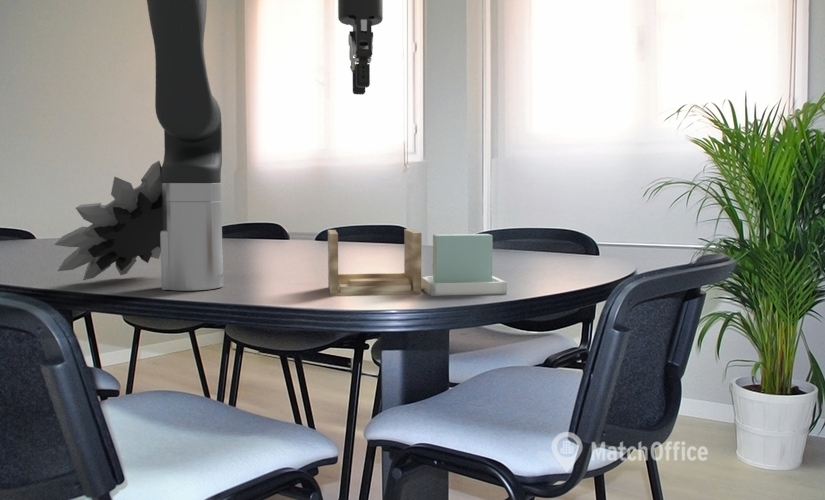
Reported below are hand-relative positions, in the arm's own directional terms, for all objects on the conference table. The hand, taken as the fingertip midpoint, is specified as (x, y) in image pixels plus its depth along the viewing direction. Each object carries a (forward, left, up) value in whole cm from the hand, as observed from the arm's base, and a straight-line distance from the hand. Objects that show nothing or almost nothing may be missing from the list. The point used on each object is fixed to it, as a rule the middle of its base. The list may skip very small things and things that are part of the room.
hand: (360, 90), depth 115 cm
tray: (+15, -13, -33) cm, 39 cm away
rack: (+1, -10, -33) cm, 35 cm away
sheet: (+15, -13, -32) cm, 38 cm away
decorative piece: (-38, +19, -31) cm, 52 cm away
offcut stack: (+1, -13, -33) cm, 36 cm away
